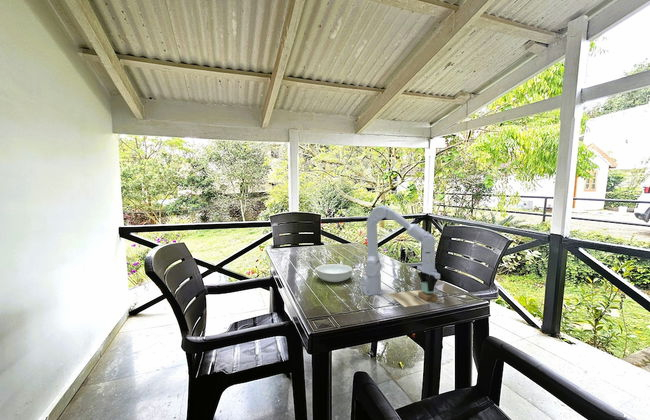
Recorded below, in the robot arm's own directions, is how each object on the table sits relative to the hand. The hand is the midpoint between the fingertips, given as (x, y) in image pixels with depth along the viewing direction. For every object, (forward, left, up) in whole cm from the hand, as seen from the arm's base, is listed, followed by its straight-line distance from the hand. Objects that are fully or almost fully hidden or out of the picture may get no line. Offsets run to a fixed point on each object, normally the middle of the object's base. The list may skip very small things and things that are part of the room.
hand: (427, 289), depth 127 cm
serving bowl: (-33, +41, -5) cm, 53 cm away
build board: (-5, +3, -5) cm, 8 cm away
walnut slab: (0, 0, -4) cm, 4 cm away
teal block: (0, 0, -1) cm, 1 cm away
